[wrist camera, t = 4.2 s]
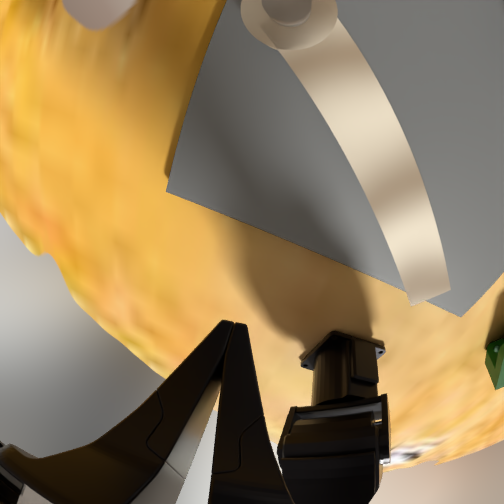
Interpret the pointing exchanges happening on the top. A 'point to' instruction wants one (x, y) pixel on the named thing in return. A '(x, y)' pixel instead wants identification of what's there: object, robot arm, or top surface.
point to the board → (330, 152)
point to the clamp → (496, 362)
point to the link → (359, 130)
